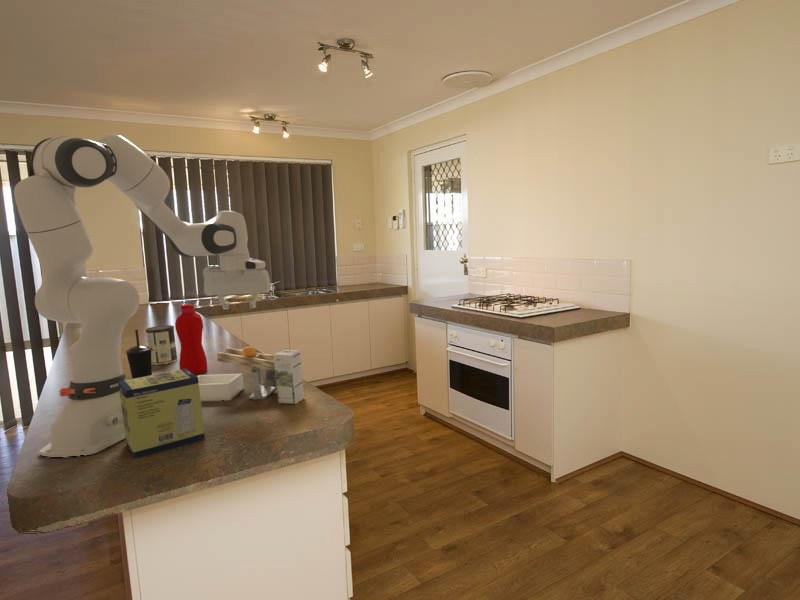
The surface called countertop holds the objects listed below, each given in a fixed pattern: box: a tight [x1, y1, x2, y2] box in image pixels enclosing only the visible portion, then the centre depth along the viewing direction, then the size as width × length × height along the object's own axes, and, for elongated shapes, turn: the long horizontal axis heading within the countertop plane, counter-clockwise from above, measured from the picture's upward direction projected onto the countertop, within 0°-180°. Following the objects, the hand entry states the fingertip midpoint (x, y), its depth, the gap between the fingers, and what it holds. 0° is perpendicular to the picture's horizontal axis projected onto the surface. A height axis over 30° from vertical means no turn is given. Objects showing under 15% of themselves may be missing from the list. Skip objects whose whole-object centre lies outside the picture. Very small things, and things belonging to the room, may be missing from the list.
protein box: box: [118, 369, 206, 459], centre depth 116 cm, size 10×16×16 cm
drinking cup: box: [125, 329, 153, 379], centre depth 160 cm, size 8×8×20 cm
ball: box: [242, 345, 257, 357], centre depth 150 cm, size 4×4×4 cm
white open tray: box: [196, 373, 245, 402], centre depth 152 cm, size 11×14×5 cm
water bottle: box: [174, 303, 210, 375], centre depth 180 cm, size 9×11×25 cm
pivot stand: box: [248, 366, 277, 400], centre depth 151 cm, size 12×5×10 cm, turn 177°
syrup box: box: [273, 349, 305, 405], centre depth 141 cm, size 6×6×14 cm
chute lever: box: [216, 347, 276, 387], centre depth 154 cm, size 20×14×8 cm
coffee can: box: [145, 324, 179, 366], centre depth 200 cm, size 10×10×14 cm
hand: (239, 308), depth 155 cm, fingers open, 7 cm apart
